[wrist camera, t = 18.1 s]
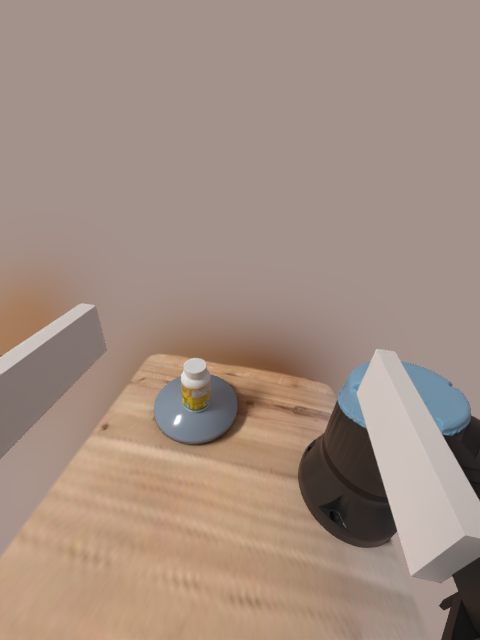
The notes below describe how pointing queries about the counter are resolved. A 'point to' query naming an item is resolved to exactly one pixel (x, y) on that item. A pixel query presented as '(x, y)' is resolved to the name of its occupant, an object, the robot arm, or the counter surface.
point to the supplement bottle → (195, 385)
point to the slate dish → (195, 425)
